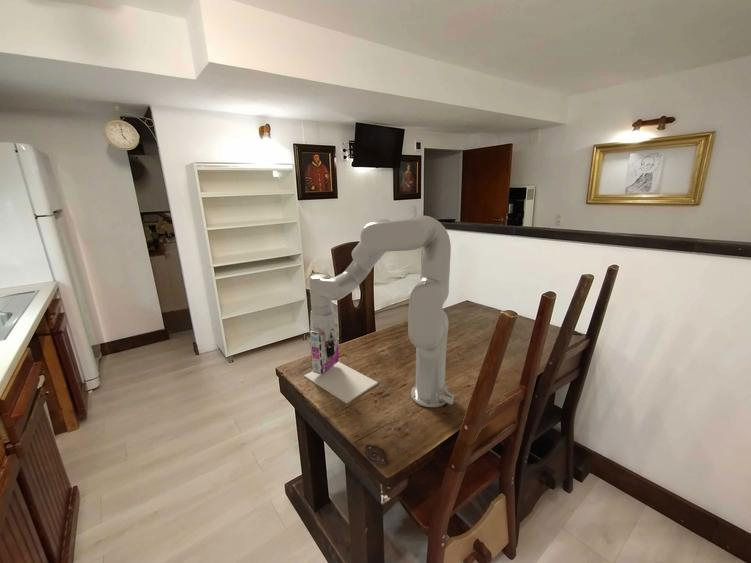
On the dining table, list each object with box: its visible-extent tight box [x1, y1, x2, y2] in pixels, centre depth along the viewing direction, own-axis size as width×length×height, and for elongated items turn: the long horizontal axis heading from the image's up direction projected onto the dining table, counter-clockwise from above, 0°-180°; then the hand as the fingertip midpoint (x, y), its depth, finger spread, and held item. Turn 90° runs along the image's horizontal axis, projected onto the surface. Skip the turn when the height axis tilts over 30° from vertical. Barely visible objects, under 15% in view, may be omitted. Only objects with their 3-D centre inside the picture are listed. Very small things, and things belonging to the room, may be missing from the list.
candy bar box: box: [309, 322, 340, 375], centre depth 122 cm, size 11×5×16 cm, turn 152°
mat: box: [303, 361, 379, 404], centre depth 120 cm, size 24×15×1 cm, turn 47°
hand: (325, 352), depth 123 cm, fingers closed on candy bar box, 5 cm apart
